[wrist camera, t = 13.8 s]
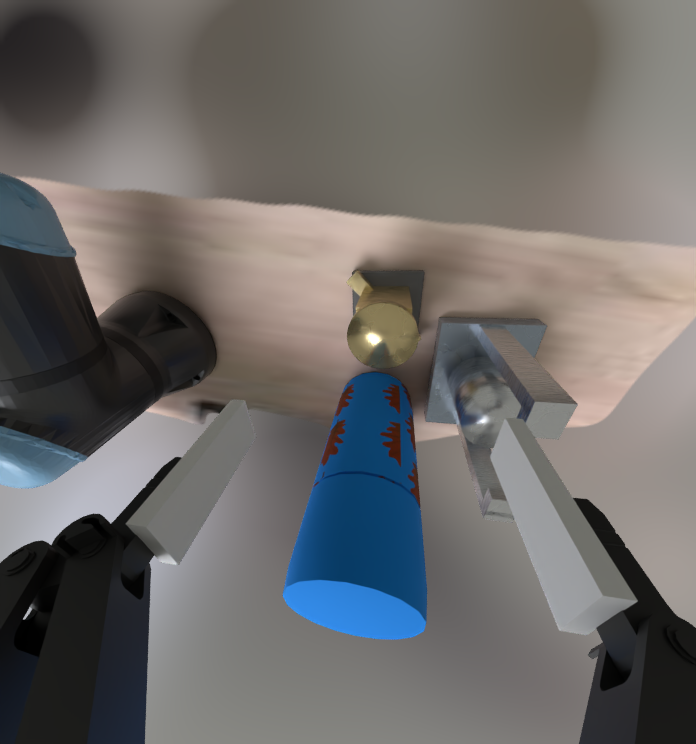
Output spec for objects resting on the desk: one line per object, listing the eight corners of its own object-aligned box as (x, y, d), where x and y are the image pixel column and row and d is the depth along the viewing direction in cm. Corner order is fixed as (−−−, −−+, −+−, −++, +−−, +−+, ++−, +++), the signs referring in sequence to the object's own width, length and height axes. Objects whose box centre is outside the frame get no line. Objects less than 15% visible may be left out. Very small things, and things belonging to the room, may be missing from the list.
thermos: (349, 428, 43) (306, 629, 23) (333, 376, 38) (256, 572, 17) (415, 424, 41) (435, 648, 20) (406, 366, 36) (421, 587, 15)
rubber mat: (354, 334, 34) (353, 337, 33) (353, 270, 30) (352, 272, 29) (416, 336, 33) (416, 339, 32) (423, 270, 29) (424, 272, 28)
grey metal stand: (424, 412, 39) (438, 514, 26) (439, 317, 31) (470, 393, 18) (501, 418, 37) (559, 530, 24) (538, 319, 30) (654, 405, 16)
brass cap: (438, 319, 30) (452, 354, 23) (393, 354, 34) (392, 395, 26) (375, 249, 28) (367, 263, 20) (333, 296, 31) (313, 322, 23)
